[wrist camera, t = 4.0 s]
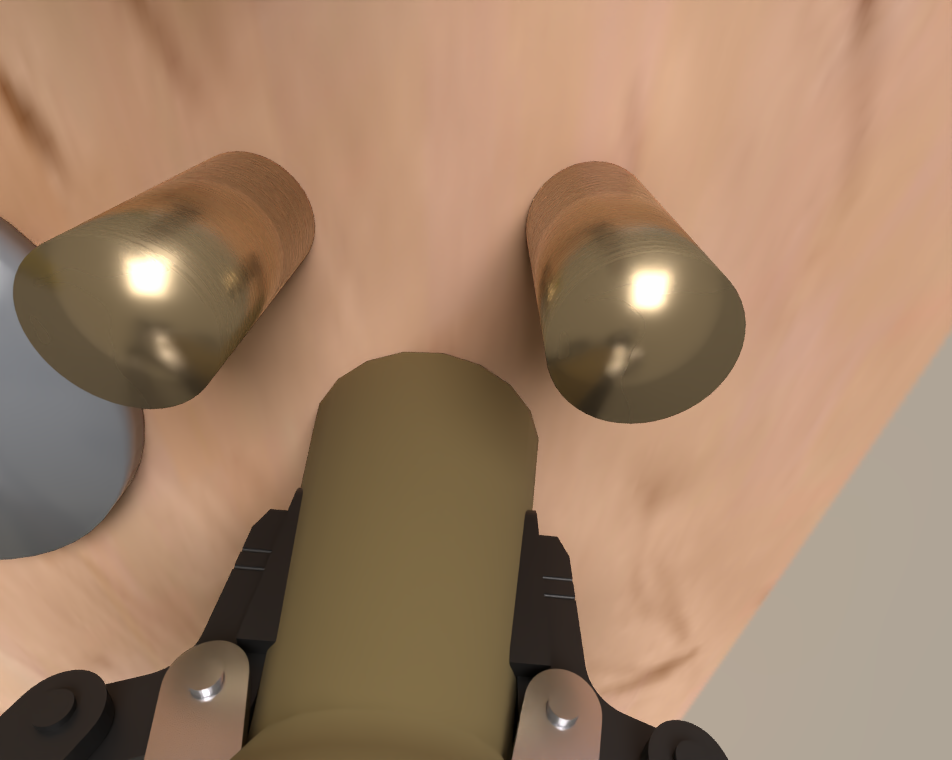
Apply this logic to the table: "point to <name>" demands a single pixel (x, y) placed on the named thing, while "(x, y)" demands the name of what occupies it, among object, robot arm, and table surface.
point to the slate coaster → (53, 438)
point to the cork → (402, 571)
